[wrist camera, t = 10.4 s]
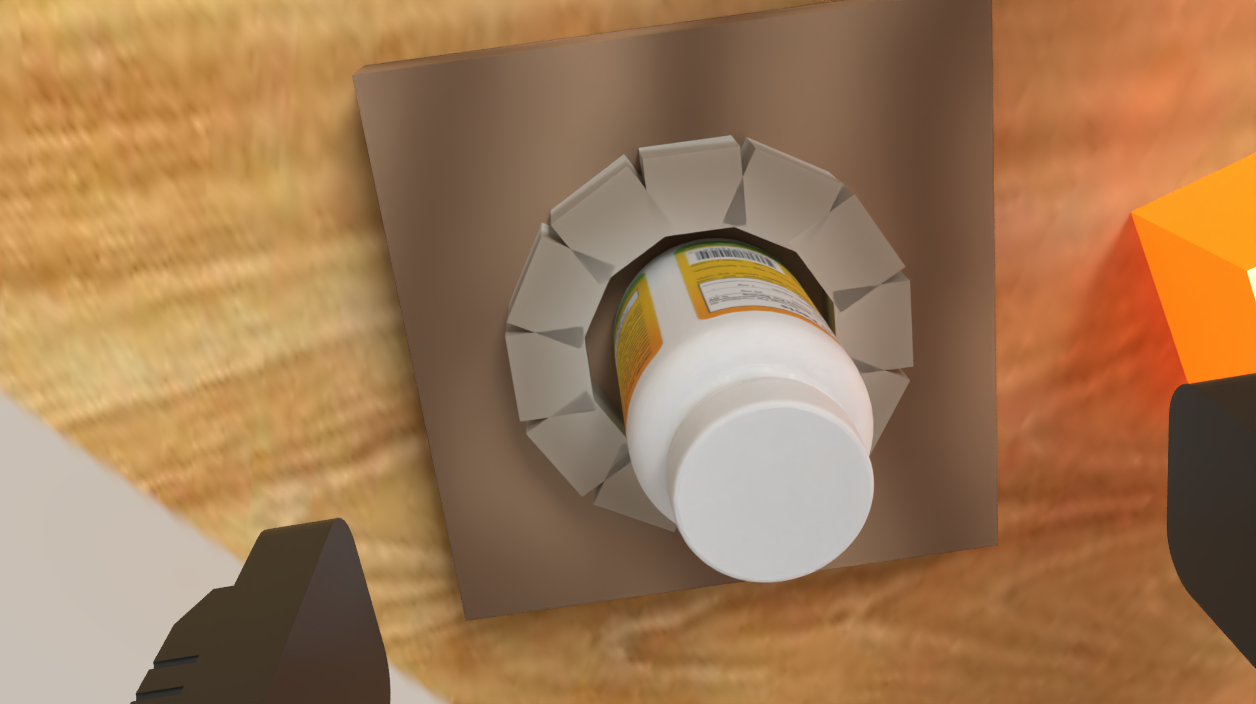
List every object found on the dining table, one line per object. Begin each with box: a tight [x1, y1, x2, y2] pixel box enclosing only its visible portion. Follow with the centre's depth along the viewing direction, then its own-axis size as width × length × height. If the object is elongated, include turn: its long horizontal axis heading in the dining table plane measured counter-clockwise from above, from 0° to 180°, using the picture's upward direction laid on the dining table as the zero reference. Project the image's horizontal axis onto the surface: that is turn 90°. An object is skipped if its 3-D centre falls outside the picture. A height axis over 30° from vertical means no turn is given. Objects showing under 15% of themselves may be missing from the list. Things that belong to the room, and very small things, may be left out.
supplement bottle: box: [613, 238, 874, 582], centre depth 27 cm, size 5×5×10 cm
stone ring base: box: [352, 0, 998, 621], centre depth 31 cm, size 16×16×4 cm
